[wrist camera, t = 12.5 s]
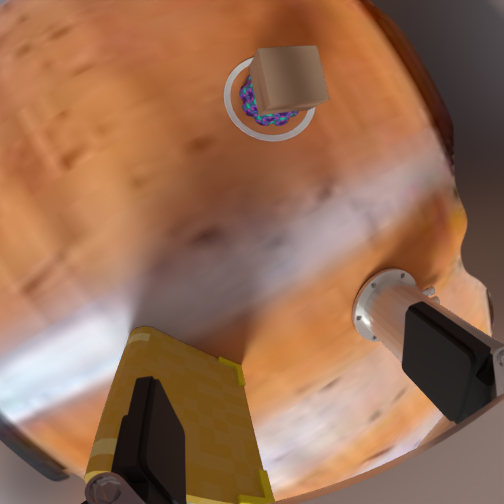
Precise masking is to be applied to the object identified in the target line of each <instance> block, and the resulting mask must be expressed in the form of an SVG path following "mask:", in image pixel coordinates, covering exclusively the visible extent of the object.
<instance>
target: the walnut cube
mask: <svg viewBox="0 0 504 504" xmlns="http://www.w3.org/2000/svg"><path fill="white" fill-rule="evenodd" d="M249 71H250V76H251V81H252V86H253V91H254V95H255V100H256V105H257V110H258V115H259V116H261V115H268V114H276V113H284V112H292V111H301V110H310V109H312V108H314V107H316V106H318V105H320V104H322V103H324V102H326V101H328V100H330V99H329V95H328V90H327V86H326V81H325V77H324V73H323V69H322V64H321V60H320V56H319V52H318V49H317V46H286V47H270V48H259V49H258V50H257V52H256V54H255V56H254V58H253V60H252V62H251V64H250V66H249Z"/></svg>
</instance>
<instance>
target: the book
mask: <svg viewBox="0 0 504 504" xmlns="http://www.w3.org/2000/svg"><path fill="white" fill-rule="evenodd" d="M147 376H153V377H154V379H159V380H160V382H161V384H162V386H163V388H164V390H165V393H166V395H167V397H168V399H169V401H170V403H171V405H172V407H173V409H174V411H175V413H176V415H177V417H178V419H179V421H180V423H181V425H182V426H183V429H184V432H185V465H186V502H187V504H267V503H271V502H275V499H274V497H273V493H272V489H271V486H270V482H269V478H268V474H267V471H265V470H263V466H262V462H261V458H260V454H259V450H258V445H257V441H256V437H255V433H254V429H253V424H252V420H251V416H250V412H249V407H248V403H247V398H246V394H245V389H244V386H245V385H246V384H245V380H244V376H243V371H242V366H241V365H239V364H237V363H234V362H232V361H230V360H227V359H225V358H223V357H221V356H219V357H218V358H216V357H214V356H211V355H209V354H207V353H205V352H202V351H200V350H198V349H196V348H194V347H192V346H189V345H187V344H185V343H183V342H181V341H179V340H177V339H175V338H173V337H171V336H168V335H166V334H164V333H162V332H160V331H158V330H156V329H154V328H152V327H147V326H143V327H138V328H136V329H135V330H133V331H132V332H131V334H130V336H129V338H128V341H127V343H126V346H125V349H124V351H123V354H122V357H121V360H120V362H119V365H118V368H117V371H116V374H115V377H114V380H113V382H112V385H111V388H110V391H109V394H108V398H107V401H106V404H105V407H104V410H103V413H102V416H101V420H100V423H99V426H98V430H97V433H96V436H95V440H94V443H93V447H92V451H91V454H90V458H89V462H88V466H87V469H86V473H85V477H84V479H85V482H86V484H87V483H88V481H89V480H90V479H91V478H92V477H94V476H95V475H97V474H100V473H104V472H111V468H112V463H113V458H114V453H115V448H116V443H117V439H118V434H119V430H120V425H121V421H122V418H123V416H124V415H128V411H129V406H130V402H131V398H132V394H133V389H134V385H135V381H136V379H137V378H141V377H147Z"/></svg>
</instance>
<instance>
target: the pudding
mask: <svg viewBox="0 0 504 504" xmlns="http://www.w3.org/2000/svg"><path fill="white" fill-rule="evenodd" d="M253 58H254V57H253ZM253 58H250V59H247V60H245V61H244V62H242V63H240V64H239V65H238V66H237V67H236V68H235V69H234V70H233V71H232V72H231V74H230V75H229V77H228V79H227V81H226V85H225V88H224V102H225V107H226V110H227V113H228V114H229V116H230V118H231V120H232V121H233V122H234V123H235V125H236V126H237V127H238V128H239V129H241V130H242V131H243V132H245V133H246V134H248V135H249V136H251V137H254V138H256V139H260V140H264V141H273V142H274V141H283V140H286V139H290V138H292V137H294V136H296V135H298V134H299V133H300V132H302V131H303V130H304V129H305V128H306V127H307V126H308V124H309V123H310V121H311V120H312V117H313V115H314V112H315V107H314V108H312V109H310V110H308V112H307V114H306V116H305V118H304V120H303V121H302V122H301V123H300V124H299V125H298V126H297V127H296V128H295V129H293V130H291V131H289V132H287V133H284V134H280V135H265V134H261V133H258V132H255V131H253V130H251V129H249V128H248V127H246V126H245V125H244V124H243V123H242V122H241V121H240V120H239V119H238V117H237V116H236V114H235V113H234V111H233V108H232V105H231V100H230V91H231V87H232V83H233V81H234V79H235V78H236V76H237V75H238V74H239V72H241V71H242V70H243V69H244V68H246V67H247V66H249V65H250V64H251V62H252V60H253ZM240 98H241V99H242V100H243V101H244V102H243V106H242V108H243V110H244V112H245V113H246V114H247V115H248V116H252V117H254V118H255V120H256V122H257V123H259V124H260V125H264V126H268V125H270V124H272V123H273V124H275V125H277V126H281V125H284V124H286V123H287V122H288V120H289V117H293V116H296V115H297V113H298V112H299V111H292V112H284V113H276V114H268V115H261V116H259V115H258V110H257V105H256V100H255V95H254V91H253V86H252V81H251V76H250V75H249V76H248V77H247V81H246V84H245V85H244V86H242V87H241V89H240Z"/></svg>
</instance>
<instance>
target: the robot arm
mask: <svg viewBox="0 0 504 504" xmlns="http://www.w3.org/2000/svg"><path fill="white" fill-rule="evenodd" d="M434 293H435V289H434V287H433V286H431V287H428V288H426V289H424V290H423V289H421V288H419V287H418V286H417V284H416V281H415V280H414V278H413V277H412V276H411V275H410V274H409V273H407V272H406V271H404V270H401V269H397V268H390V269H385V270H382V271H380V272H378V273H376V274H375V275H374V276H372V277H371V278H370V279H369V280H368V281H367V282H366V283H365V284H364V285H363V287H362V288H361V289H360V291H359V293H358V295H357V297H356V299H355V302H354V305H353V310H352V319H353V324H354V326H355V329H356V330H357V331H358V333H359V334H360V335H361V336H362V337H363V338H365V339H367V340H369V341H381V342H382V343H383V344H384V345H385V346H386V347H387V348H388V349H389V350H390V351H391V352H392V353H393V354H394V356H395V357H396V358H397V359H398V360H399V361H400V362H401V363H402V369H403V371H404V372H405V373H406V375H407V376H408V377H409V378H410V379H411V380H412V381H413V382H414V383H415V384H416V385H417V386H418V387H419V388H420V390H421V391H422V392H423V393H424V394H425V395H426V396H427V397H428V398H429V399H430V400H431V401H432V402H433V404H434V405H435V406H436V407H437V408H438V409H439V410H440V411H441V412H442V413H443V414H444V416H443V417H442V418H441V419H440V420H439V422H438V423H437V424H436V425H435V426H434V428H433V429H432V430H431V431H430V432H429V433H428V435H427V436H426V437H425V438H424V439H423V440H422V442H421V443H420V444H419V445H418V447H417V448H416V449H414V450H412V451H410V452H408V453H406V454H404V455H402V456H400V457H398V458H396V459H394V460H392V461H390V462H388V463H385V464H383V465H381V466H379V467H376V468H374V469H372V470H369V471H367V472H365V473H362V474H360V475H357V476H355V477H352V478H350V479H347V480H344V481H342V482H339V483H336V484H333V485H330V486H327V487H324V488H321V489H318V490H315V491H312V492H309V493H305V494H302V495H298V496H295V497H291V498H287V499H283V500H279V501H275V502H271V503H267V504H504V343H501V342H500V341H498V340H496V339H494V338H492V337H490V336H488V335H487V334H485V333H484V332H482V331H480V330H479V329H477V328H475V327H474V326H472V325H471V324H469V323H468V322H466V321H465V320H463V319H462V318H460V317H459V316H457V315H456V314H454V313H453V312H451V311H450V310H448V309H446V308H445V307H443V306H442V305H440V300H439V298H438V297H437V296H434V297H432V298H429V297H428V296H430V295H433V294H434ZM85 497H86V501H84V502H83V503H81V504H187V502H186V465H185V432H184V429H183V426H182V425H181V423H180V421H179V419H178V417H177V415H176V413H175V411H174V409H173V407H172V405H171V403H170V401H169V399H168V397H167V395H166V393H165V390H164V388H163V386H162V384H161V382H160V380H159V379H154V377H153V376H147V377H141V378H137V379H136V381H135V385H134V389H133V394H132V398H131V402H130V406H129V411H128V415H124V416H123V418H122V421H121V425H120V430H119V434H118V439H117V443H116V448H115V453H114V458H113V463H112V468H111V472H104V473H100V474H97V475H95V476H94V477H92V478H91V479H90V480H89V481H88V483H87V484H86V487H85Z"/></svg>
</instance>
